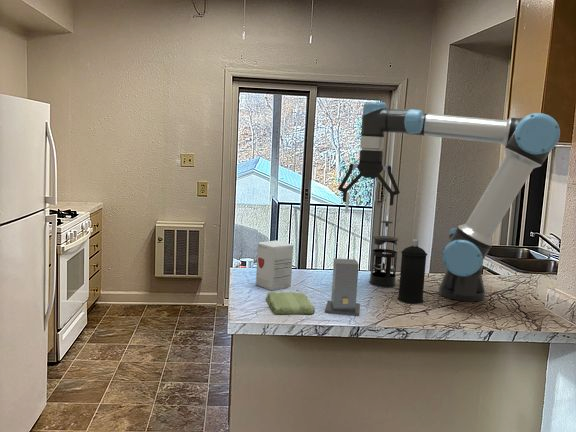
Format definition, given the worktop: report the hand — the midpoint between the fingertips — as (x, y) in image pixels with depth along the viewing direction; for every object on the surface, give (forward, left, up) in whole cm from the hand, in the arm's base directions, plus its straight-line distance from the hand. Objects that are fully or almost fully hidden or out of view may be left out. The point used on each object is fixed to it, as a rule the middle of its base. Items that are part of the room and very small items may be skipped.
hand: (366, 213), depth 181 cm
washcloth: (+21, +24, -27) cm, 42 cm away
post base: (+5, +23, -27) cm, 36 cm away
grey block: (+5, +23, -26) cm, 35 cm away
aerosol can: (-16, +6, -27) cm, 32 cm away
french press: (-7, -13, -27) cm, 31 cm away
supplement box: (+30, +4, -27) cm, 41 cm away
